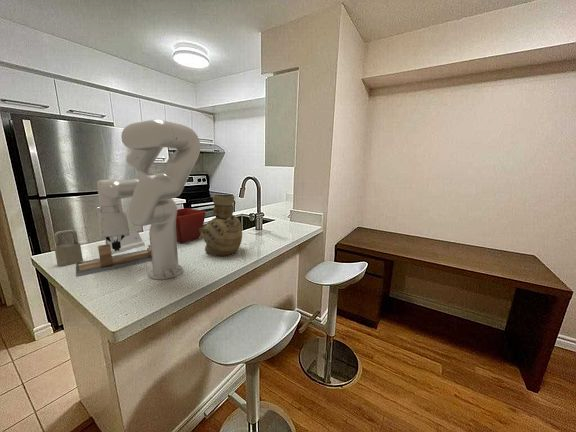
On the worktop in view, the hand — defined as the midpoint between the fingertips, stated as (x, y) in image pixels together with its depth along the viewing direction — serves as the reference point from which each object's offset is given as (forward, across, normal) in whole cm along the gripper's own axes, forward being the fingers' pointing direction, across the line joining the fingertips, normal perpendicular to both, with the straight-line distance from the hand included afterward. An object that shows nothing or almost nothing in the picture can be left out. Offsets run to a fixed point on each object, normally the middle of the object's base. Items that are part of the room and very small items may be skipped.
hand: (116, 250), depth 105 cm
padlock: (+7, -16, +15) cm, 23 cm away
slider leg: (+5, -4, +2) cm, 7 cm away
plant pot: (+7, +35, +21) cm, 41 cm away
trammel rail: (+6, +2, +2) cm, 6 cm away
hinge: (+7, +5, +23) cm, 24 cm away
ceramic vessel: (+7, +43, -15) cm, 46 cm away
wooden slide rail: (+7, +2, +3) cm, 8 cm away
